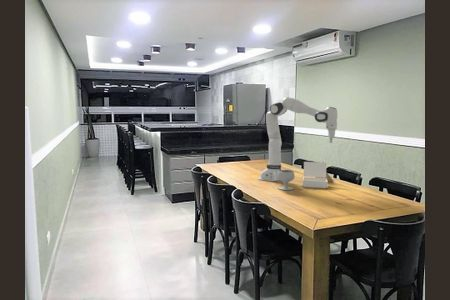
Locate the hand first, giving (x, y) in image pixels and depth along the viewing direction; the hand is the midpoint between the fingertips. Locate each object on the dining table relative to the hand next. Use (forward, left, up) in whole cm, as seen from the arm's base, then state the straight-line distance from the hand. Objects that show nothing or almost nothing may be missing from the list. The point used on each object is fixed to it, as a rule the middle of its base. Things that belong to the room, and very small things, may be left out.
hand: (330, 142), depth 276 cm
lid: (-12, +6, -24) cm, 28 cm away
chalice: (-36, -20, -37) cm, 55 cm away
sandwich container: (-3, +23, -38) cm, 44 cm away
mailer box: (-12, -3, -37) cm, 39 cm away
